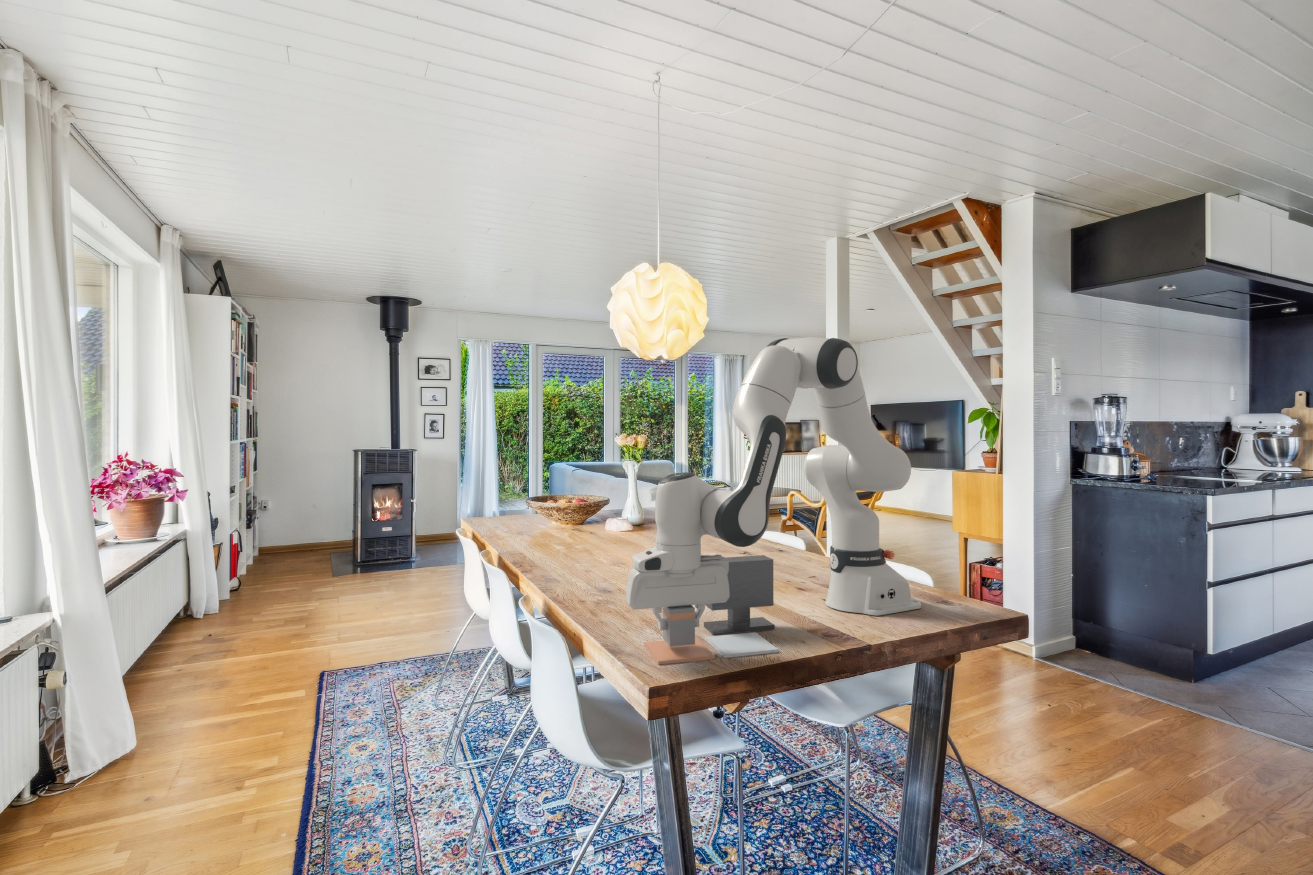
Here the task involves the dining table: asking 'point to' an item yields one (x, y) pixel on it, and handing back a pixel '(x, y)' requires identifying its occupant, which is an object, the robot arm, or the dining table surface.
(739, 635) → the pale pad
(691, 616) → the cartridge
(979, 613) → the dining table surface
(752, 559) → the mounted unit
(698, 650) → the terracotta pad
